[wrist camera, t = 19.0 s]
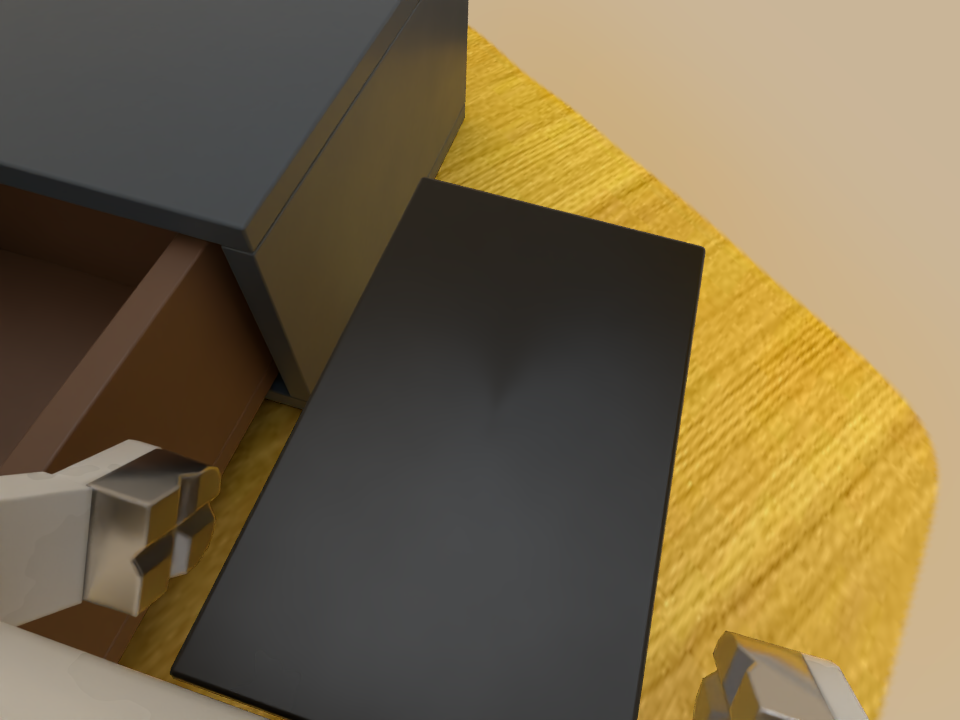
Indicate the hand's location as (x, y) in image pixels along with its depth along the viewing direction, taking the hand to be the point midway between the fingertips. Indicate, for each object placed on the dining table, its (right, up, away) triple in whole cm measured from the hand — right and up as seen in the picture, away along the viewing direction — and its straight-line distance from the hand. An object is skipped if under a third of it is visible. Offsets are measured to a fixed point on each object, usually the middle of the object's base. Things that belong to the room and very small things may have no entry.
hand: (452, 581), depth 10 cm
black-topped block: (0, -3, +7) cm, 8 cm away
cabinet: (-9, +10, +15) cm, 20 cm away
